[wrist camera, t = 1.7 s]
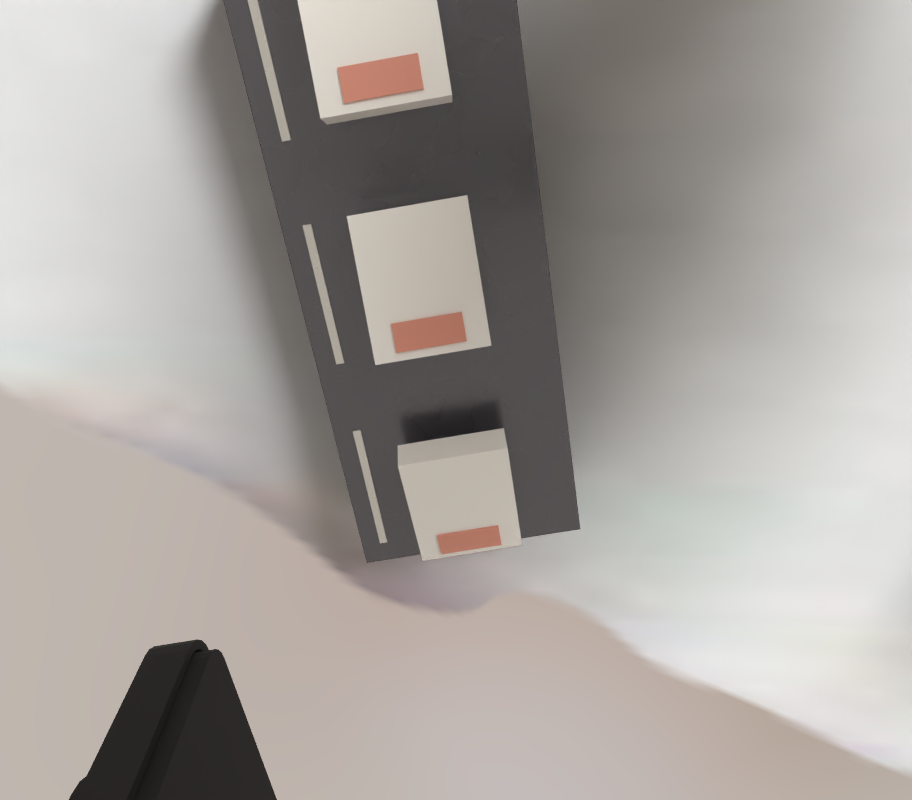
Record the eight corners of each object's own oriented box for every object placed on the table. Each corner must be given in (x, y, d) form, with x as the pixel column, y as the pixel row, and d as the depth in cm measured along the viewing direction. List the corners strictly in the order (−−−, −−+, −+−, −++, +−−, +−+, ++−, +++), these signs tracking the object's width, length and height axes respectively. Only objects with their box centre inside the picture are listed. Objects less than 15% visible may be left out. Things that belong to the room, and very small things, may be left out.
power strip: (185, -260, 25) (131, -332, 20) (463, -315, 24) (471, -401, 20) (373, 512, 36) (365, 574, 32) (564, 481, 36) (583, 540, 31)
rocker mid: (351, 217, 26) (346, 216, 25) (466, 197, 26) (467, 194, 25) (378, 360, 27) (374, 365, 26) (489, 341, 27) (491, 345, 26)
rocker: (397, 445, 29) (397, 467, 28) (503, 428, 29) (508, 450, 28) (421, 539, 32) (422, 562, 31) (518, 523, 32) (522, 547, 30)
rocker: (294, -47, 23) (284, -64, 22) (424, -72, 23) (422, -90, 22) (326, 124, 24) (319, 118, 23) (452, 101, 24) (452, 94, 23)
